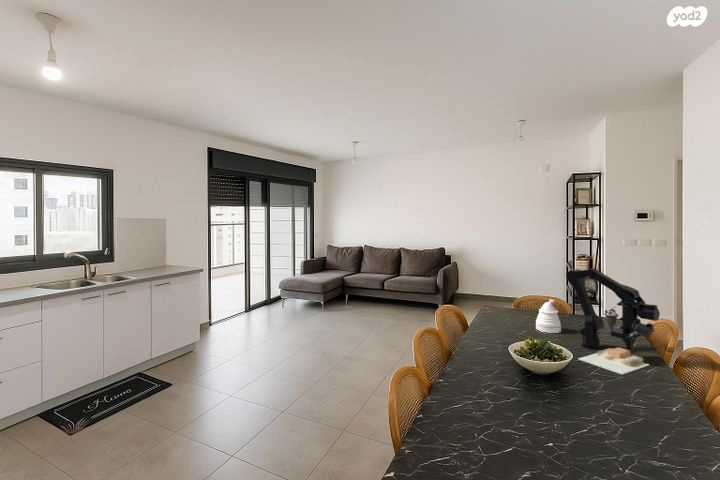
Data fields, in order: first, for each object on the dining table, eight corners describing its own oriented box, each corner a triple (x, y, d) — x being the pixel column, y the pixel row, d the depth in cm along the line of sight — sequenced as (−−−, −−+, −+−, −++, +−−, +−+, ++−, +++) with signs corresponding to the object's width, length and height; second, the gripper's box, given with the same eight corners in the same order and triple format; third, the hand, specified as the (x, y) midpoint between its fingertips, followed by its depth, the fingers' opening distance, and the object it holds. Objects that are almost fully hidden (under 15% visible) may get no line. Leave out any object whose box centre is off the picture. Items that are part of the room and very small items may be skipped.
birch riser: (597, 356, 168) (597, 351, 168) (609, 353, 172) (609, 348, 172) (630, 367, 155) (630, 361, 155) (642, 363, 159) (642, 357, 159)
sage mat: (578, 359, 166) (578, 358, 166) (604, 351, 174) (604, 350, 174) (622, 374, 149) (622, 373, 149) (649, 365, 157) (649, 364, 157)
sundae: (621, 334, 197) (621, 307, 196) (607, 334, 198) (607, 307, 197) (615, 330, 203) (615, 304, 202) (601, 330, 205) (601, 304, 204)
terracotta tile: (607, 354, 164) (607, 350, 164) (618, 351, 167) (618, 347, 167) (619, 358, 159) (619, 354, 159) (630, 355, 162) (630, 350, 162)
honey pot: (561, 328, 211) (561, 298, 210) (560, 335, 200) (559, 303, 199) (537, 326, 218) (536, 296, 217) (534, 332, 207) (534, 301, 206)
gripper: (637, 323, 154) (637, 359, 155) (661, 317, 162) (661, 351, 163) (610, 317, 164) (610, 351, 165) (634, 311, 172) (634, 343, 173)
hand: (629, 349), depth 166 cm, fingers closed
